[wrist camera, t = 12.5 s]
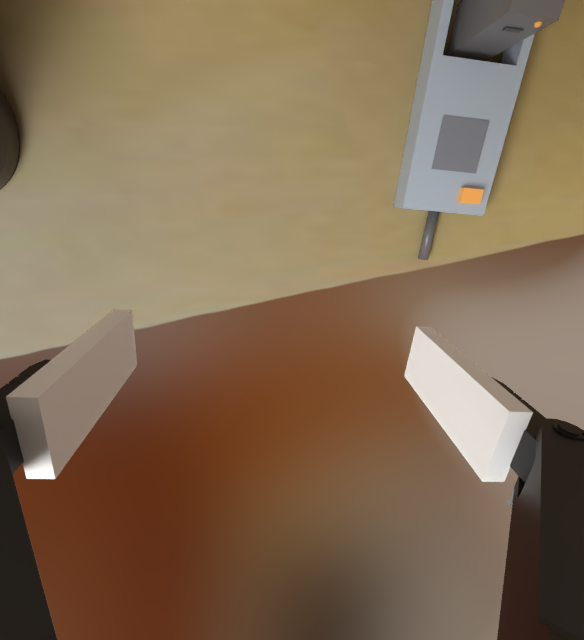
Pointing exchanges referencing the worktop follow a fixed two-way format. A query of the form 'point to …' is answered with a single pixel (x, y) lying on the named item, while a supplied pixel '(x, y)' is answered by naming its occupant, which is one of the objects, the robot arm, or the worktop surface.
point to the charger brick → (498, 25)
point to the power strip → (456, 126)
